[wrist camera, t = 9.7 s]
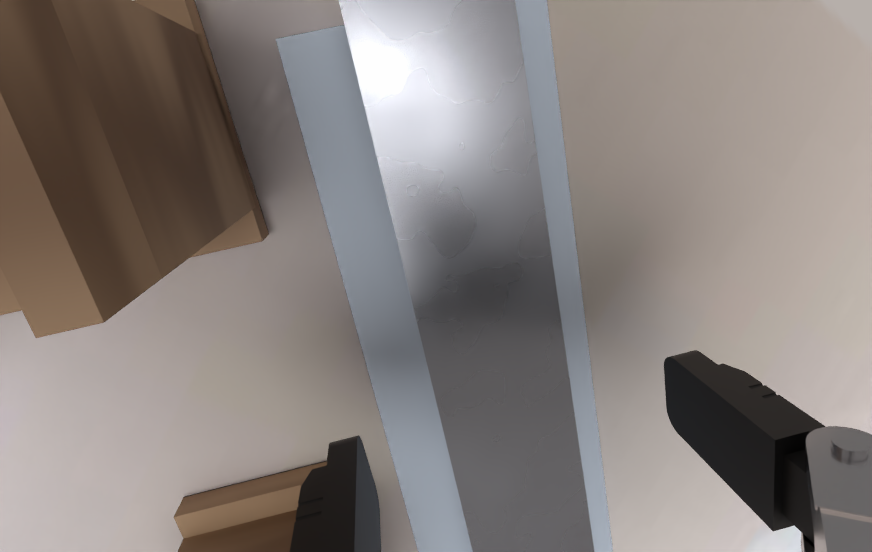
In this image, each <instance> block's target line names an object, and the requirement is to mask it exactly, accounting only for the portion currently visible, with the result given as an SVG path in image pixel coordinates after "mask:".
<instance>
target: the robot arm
mask: <svg viewBox="0 0 872 552" xmlns="http://www.w3.org/2000/svg"><path fill="white" fill-rule="evenodd" d="M664 374H665V390H666V406H667V413H668V416H669V419H670V421H671V424H672V425H673V427H674V429H675V430H676V432H677V433H678V434H679V435H680V436H681V437H682V438H683V439H684V440H685V441H686V442H687V443H688V444H689V445H690V446H691V447H692V448H693V449H694V450H695V451H696V452H697V453H698V454H699V456H700V457H701V458H702V459H703V460H704V461H705V462H706V463H707V464H708V465H709V466H710V467H711V468H712V469H713V470H714V471H715V472H716V473H717V474H718V475H719V476H720V477H721V478H722V479H723V480H724V481H725V482H726V483H727V484H728V485H729V486H730V487H731V488H732V489H733V491H734V492H735V493H736V494H737V495H738V496H739V497H740V498H741V499H742V500H743V501H744V502H745V503H746V504H747V505H748V506H749V507H750V508H751V509H752V510H753V511H754V512H755V513H756V514H757V515H758V516H759V517H760V518H761V519H762V520H763V521H764V522H765V523H766V524H767V526H768V527H769V528H770V529H771V530H772V531H776V530H779V529H783V528H786V527H790V526H794V525H795V526H796V527H797V528H798V529H799V530H800V531H801V532H802V533H801V549H802V552H872V435H871V434H869V433H866V432H863V431H860V430H857V429H853V428H847V427H838V426H829V427H825V426H824V425H822V424H821V423H819V422H818V421H816V420H815V419H814V418H812V417H811V416H809V415H808V414H806V413H805V412H803V411H802V410H800V409H799V408H797V407H796V406H795V405H793V404H792V403H790V402H789V401H787V400H786V399H784V398H783V397H781V396H780V395H776V392H774V391H773V390H771V389H770V388H768V387H767V386H763V385H762V383H761V382H760V381H758V380H757V379H755V378H754V377H752V376H751V375H749V374H748V373H746V372H745V371H742V370H739V369H736V368H733V367H731V366H728V365H725V364H720V365H717V364H716V363H715V362H713V361H712V360H710V359H709V358H708V357H706V356H705V355H703V354H702V353H701V352H699V351H696V350H694V351H690V352H687V353H683V354H679V355H675V356H671V357H667V358H666V359H665V362H664ZM290 552H381V538H380V510H379V501H378V495H377V490H376V486H375V483H374V479H373V476H372V473H371V469H370V466H369V463H368V460H367V456H366V453H365V450H364V447H363V443H362V440H361V438H360V436H355V437H351V438H347V439H344V440H340V441H336V442H332V443H330V444H329V449H328V458H327V465H326V466H322V467H319V468H315V469H312V470H311V472H310V473H309V475H308V476H307V478H306V479H305V481H304V482H303V484H302V485H301V489H300V495H299V500H298V507H297V512H296V522H295V523H294V529H293V535H292V541H291V546H290Z"/></svg>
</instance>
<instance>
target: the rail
mask: <svg viewBox="0 0 872 552" xmlns="http://www.w3.org/2000/svg"><path fill="white" fill-rule="evenodd" d="M339 4H340V8H341V12H342V17H343V21H344V25H345V29H346V33H347V37H348V41H349V45H350V49H351V54H352V58H353V62H354V66H355V70H356V74H357V78H358V82H359V86H360V91H361V95H362V99H363V103H364V107H365V111H366V115H367V119H368V123H369V127H370V132H371V136H372V140H373V144H374V148H375V152H376V156H377V160H378V164H379V169H380V173H381V177H382V181H383V185H384V189H385V193H386V197H387V201H388V206H389V210H390V214H391V218H392V222H393V226H394V230H395V234H396V238H397V243H398V247H399V251H400V255H401V259H402V263H403V267H404V271H405V275H406V280H407V284H408V288H409V292H410V296H411V300H412V304H413V308H414V312H415V317H416V321H417V325H418V329H419V333H420V337H421V341H422V345H423V349H424V354H425V358H426V362H427V366H428V370H429V374H430V378H431V382H432V386H433V390H434V395H435V399H436V403H437V407H438V411H439V415H440V419H441V423H442V427H443V432H444V436H445V440H446V444H447V448H448V452H449V456H450V460H451V464H452V469H453V473H454V477H455V481H456V485H457V489H458V493H459V497H460V501H461V506H462V510H463V514H464V518H465V522H466V526H467V530H468V534H469V538H470V543H471V547H472V551H473V552H594V545H593V538H592V531H591V524H590V517H589V510H588V503H587V496H586V489H585V482H584V475H583V469H582V462H581V455H580V448H579V441H578V434H577V427H576V420H575V413H574V406H573V399H572V392H571V385H570V378H569V371H568V364H567V357H566V350H565V343H564V336H563V330H562V323H561V316H560V309H559V302H558V295H557V288H556V281H555V274H554V267H553V260H552V253H551V246H550V239H549V232H548V225H547V218H546V211H545V204H544V198H543V191H542V184H541V177H540V170H539V163H538V156H537V149H536V142H535V135H534V128H533V121H532V114H531V107H530V100H529V93H528V86H527V79H526V72H525V66H524V59H523V52H522V45H521V38H520V31H519V24H518V17H517V10H516V3H515V0H339Z"/></svg>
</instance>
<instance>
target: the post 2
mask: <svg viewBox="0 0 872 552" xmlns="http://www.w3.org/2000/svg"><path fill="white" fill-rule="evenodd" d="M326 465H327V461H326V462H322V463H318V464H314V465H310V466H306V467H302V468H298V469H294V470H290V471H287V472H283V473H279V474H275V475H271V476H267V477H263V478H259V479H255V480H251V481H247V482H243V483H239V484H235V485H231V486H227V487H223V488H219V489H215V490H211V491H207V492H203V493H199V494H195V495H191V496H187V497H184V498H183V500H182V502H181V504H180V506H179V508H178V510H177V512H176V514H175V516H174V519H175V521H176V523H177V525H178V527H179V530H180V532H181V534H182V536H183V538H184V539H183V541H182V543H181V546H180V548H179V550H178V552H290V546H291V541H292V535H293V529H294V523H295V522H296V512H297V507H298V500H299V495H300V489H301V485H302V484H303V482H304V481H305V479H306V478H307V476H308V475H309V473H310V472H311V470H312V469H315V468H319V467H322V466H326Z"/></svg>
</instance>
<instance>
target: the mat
mask: <svg viewBox="0 0 872 552" xmlns="http://www.w3.org/2000/svg"><path fill="white" fill-rule="evenodd" d="M515 3H516V10H517V17H518V24H519V31H520V38H521V45H522V52H523V59H524V66H525V72H526V79H527V86H528V93H529V100H530V107H531V114H532V121H533V128H534V135H535V142H536V149H537V156H538V163H539V170H540V177H541V184H542V191H543V198H544V204H545V211H546V218H547V225H548V232H549V239H550V246H551V253H552V260H553V267H554V274H555V281H556V288H557V295H558V302H559V309H560V316H561V323H562V330H563V336H564V343H565V350H566V357H567V364H568V371H569V378H570V385H571V392H572V399H573V406H574V413H575V420H576V427H577V434H578V441H579V448H580V455H581V462H582V469H583V475H584V482H585V489H586V496H587V503H588V510H589V517H590V524H591V531H592V538H593V545H594V552H613V548H612V539H611V531H610V522H609V514H608V506H607V497H606V489H605V481H604V472H603V464H602V456H601V447H600V439H599V431H598V422H597V414H596V406H595V397H594V389H593V381H592V372H591V364H590V356H589V347H588V339H587V331H586V322H585V314H584V306H583V297H582V289H581V281H580V272H579V264H578V256H577V247H576V239H575V231H574V222H573V214H572V206H571V197H570V189H569V181H568V172H567V164H566V155H565V147H564V139H563V130H562V122H561V114H560V105H559V97H558V89H557V80H556V72H555V64H554V55H553V47H552V39H551V30H550V22H549V14H548V5H547V0H515ZM276 42H277V46H278V50H279V53H280V57H281V60H282V64H283V68H284V71H285V75H286V78H287V82H288V85H289V89H290V93H291V96H292V100H293V103H294V107H295V111H296V114H297V118H298V121H299V125H300V129H301V132H302V136H303V139H304V143H305V147H306V150H307V154H308V157H309V161H310V165H311V168H312V172H313V175H314V179H315V182H316V186H317V190H318V193H319V197H320V200H321V204H322V208H323V211H324V215H325V218H326V222H327V226H328V229H329V233H330V236H331V240H332V244H333V247H334V251H335V254H336V258H337V262H338V265H339V269H340V272H341V276H342V279H343V283H344V287H345V290H346V294H347V297H348V301H349V305H350V308H351V312H352V315H353V319H354V323H355V326H356V330H357V333H358V337H359V341H360V344H361V348H362V351H363V355H364V359H365V362H366V366H367V369H368V373H369V376H370V380H371V384H372V387H373V391H374V394H375V398H376V402H377V405H378V409H379V412H380V416H381V420H382V423H383V427H384V430H385V434H386V438H387V441H388V445H389V448H390V452H391V456H392V459H393V463H394V466H395V470H396V473H397V477H398V481H399V484H400V488H401V491H402V495H403V499H404V502H405V506H406V509H407V513H408V517H409V520H410V524H411V527H412V531H413V535H414V538H415V542H416V545H417V549H418V552H473V551H472V547H471V543H470V538H469V534H468V530H467V526H466V522H465V518H464V514H463V510H462V506H461V501H460V497H459V493H458V489H457V485H456V481H455V477H454V473H453V469H452V464H451V460H450V456H449V452H448V448H447V444H446V440H445V436H444V432H443V427H442V423H441V419H440V415H439V411H438V407H437V403H436V399H435V395H434V390H433V386H432V382H431V378H430V374H429V370H428V366H427V362H426V358H425V354H424V349H423V345H422V341H421V337H420V333H419V329H418V325H417V321H416V317H415V312H414V308H413V304H412V300H411V296H410V292H409V288H408V284H407V280H406V275H405V271H404V267H403V263H402V259H401V255H400V251H399V247H398V243H397V238H396V234H395V230H394V226H393V222H392V218H391V214H390V210H389V206H388V201H387V197H386V193H385V189H384V185H383V181H382V177H381V173H380V169H379V164H378V160H377V156H376V152H375V148H374V144H373V140H372V136H371V132H370V127H369V123H368V119H367V115H366V111H365V107H364V103H363V99H362V95H361V91H360V86H359V82H358V78H357V74H356V70H355V66H354V62H353V58H352V54H351V49H350V45H349V41H348V37H347V33H346V29H345V25H341V26H336V27H331V28H326V29H322V30H317V31H312V32H307V33H302V34H297V35H292V36H287V37H282V38H278V39H276Z"/></svg>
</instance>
